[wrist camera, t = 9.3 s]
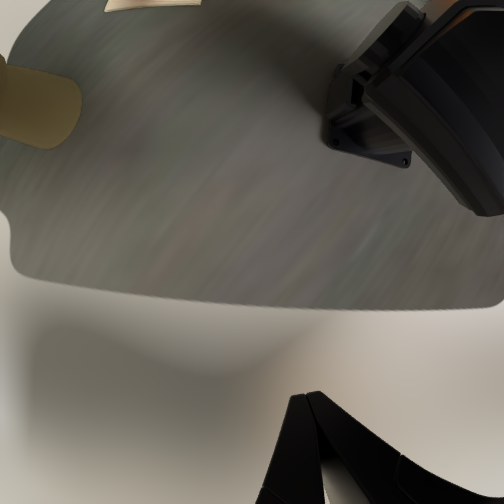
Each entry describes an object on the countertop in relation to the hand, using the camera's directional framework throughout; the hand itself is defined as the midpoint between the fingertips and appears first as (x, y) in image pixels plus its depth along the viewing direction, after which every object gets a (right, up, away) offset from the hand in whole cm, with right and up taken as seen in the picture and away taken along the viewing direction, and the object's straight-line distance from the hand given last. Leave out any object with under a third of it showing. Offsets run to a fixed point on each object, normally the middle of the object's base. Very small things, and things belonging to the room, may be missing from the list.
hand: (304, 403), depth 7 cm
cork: (-17, +15, +9) cm, 24 cm away
